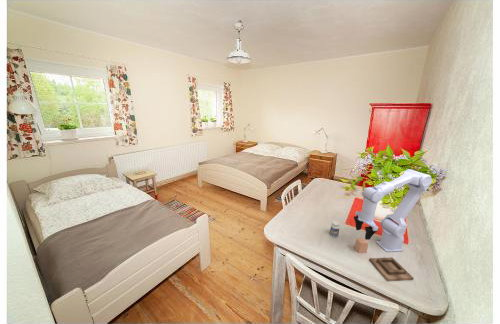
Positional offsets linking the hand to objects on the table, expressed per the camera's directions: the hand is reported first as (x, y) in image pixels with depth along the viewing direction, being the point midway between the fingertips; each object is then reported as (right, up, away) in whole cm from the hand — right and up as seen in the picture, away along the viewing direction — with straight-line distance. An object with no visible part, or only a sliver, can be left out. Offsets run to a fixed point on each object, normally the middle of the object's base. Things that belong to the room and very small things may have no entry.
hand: (362, 234), depth 99 cm
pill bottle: (-8, -6, +15) cm, 18 cm away
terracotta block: (0, -10, +3) cm, 10 cm away
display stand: (+7, -13, -9) cm, 18 cm away
